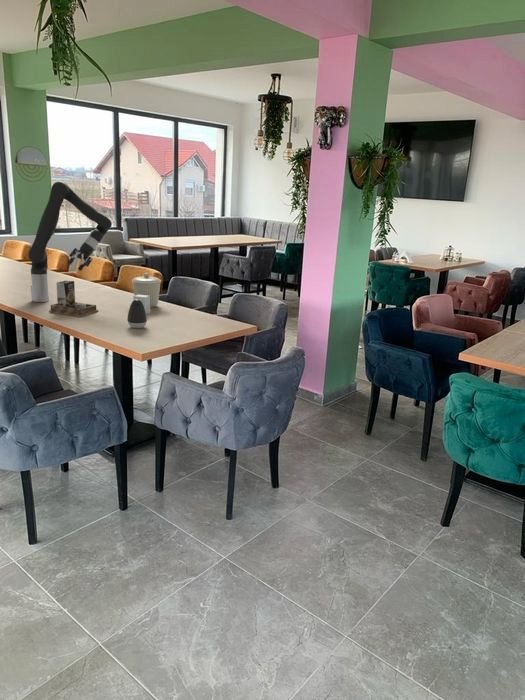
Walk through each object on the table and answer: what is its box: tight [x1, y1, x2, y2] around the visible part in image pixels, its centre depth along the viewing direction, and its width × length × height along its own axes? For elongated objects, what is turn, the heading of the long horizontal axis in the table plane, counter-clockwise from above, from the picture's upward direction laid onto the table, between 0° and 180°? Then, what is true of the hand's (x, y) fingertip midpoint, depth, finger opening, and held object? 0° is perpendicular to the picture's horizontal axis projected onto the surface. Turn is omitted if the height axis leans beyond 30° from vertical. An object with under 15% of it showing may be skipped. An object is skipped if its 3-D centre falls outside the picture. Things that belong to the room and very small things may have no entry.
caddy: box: [48, 301, 99, 318], centre depth 311 cm, size 22×16×5 cm
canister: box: [131, 272, 162, 309], centre depth 331 cm, size 18×18×21 cm
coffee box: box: [56, 280, 76, 307], centre depth 311 cm, size 9×6×16 cm
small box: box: [132, 294, 151, 315], centre depth 315 cm, size 8×6×10 cm
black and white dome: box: [127, 299, 148, 329], centre depth 282 cm, size 10×10×15 cm
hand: (73, 267), depth 323 cm, fingers open, 8 cm apart
